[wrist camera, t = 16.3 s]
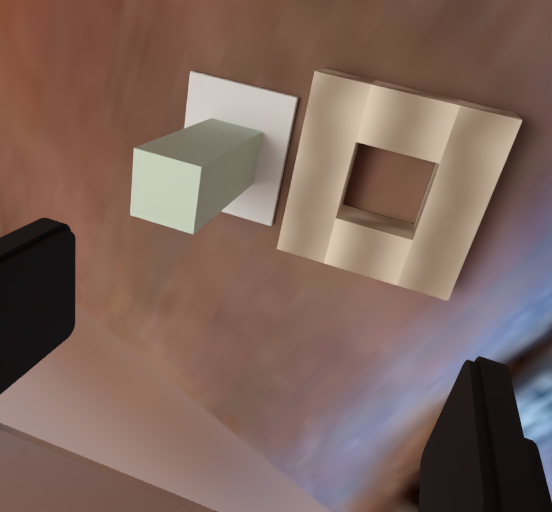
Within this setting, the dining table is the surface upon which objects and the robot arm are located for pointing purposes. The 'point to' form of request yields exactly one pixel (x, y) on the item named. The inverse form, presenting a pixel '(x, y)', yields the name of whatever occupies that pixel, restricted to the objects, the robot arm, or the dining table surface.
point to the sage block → (193, 173)
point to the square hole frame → (405, 140)
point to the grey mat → (256, 115)
